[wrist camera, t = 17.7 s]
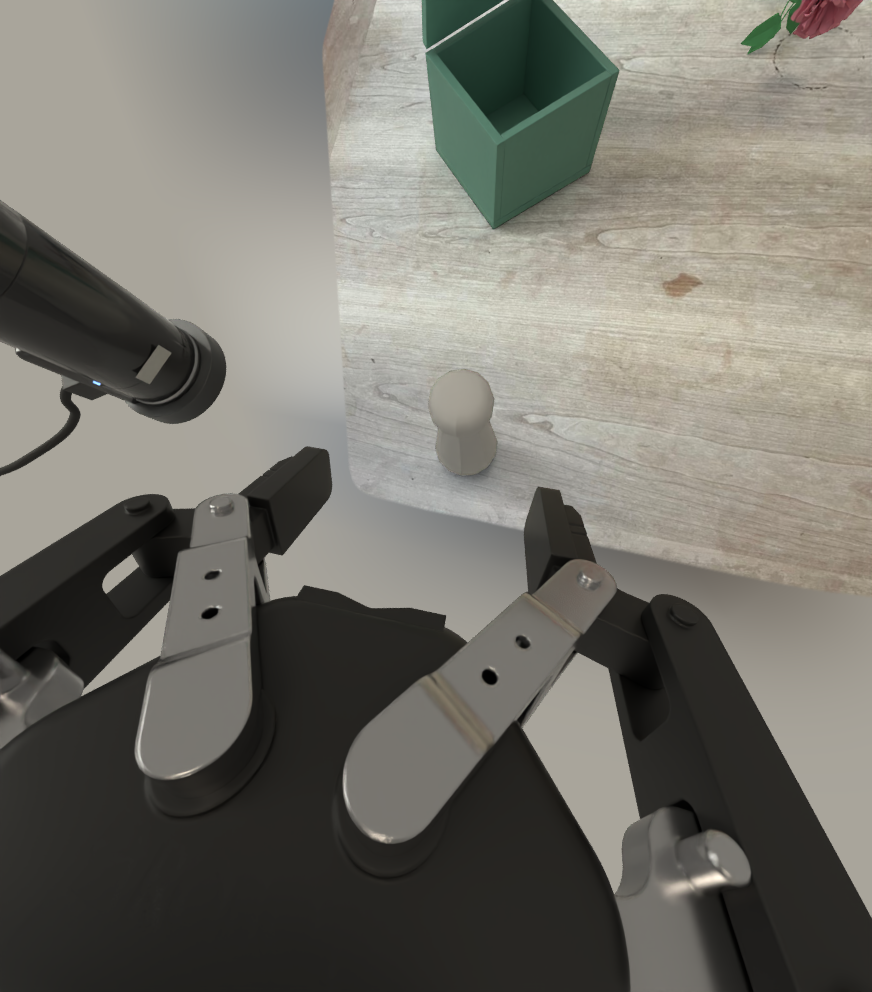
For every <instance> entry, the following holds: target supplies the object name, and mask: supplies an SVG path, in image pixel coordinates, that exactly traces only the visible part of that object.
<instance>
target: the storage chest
mask: <svg viewBox="0 0 872 992" xmlns="http://www.w3.org/2000/svg"><path fill="white" fill-rule="evenodd" d="M426 62H427V71H428V81H429V90H430V99H431V108H432V117H433V126H434V135H435V144H436V150H437V152H438V153H439V154H440V156H441V157H442V159H443V160H444V161H445V163H446V164H447V166H448V167H449V168H450V170H451V171H452V172H453V174H454V175H455V177H456V178H457V179H458V181H459V182H460V184H461V185H462V186H463V188H464V189H465V191H466V192H467V193H468V195H469V196H470V197H471V199H472V200H473V202H474V203H475V204H476V206H477V207H478V209H479V210H480V211H481V213H482V214H483V216H484V217H485V218H486V220H487V221H488V222H489V224H490V225H491V227H492V228H493V229H495V228H496V227H498V226H500V225H501V224H503V223H505V222H506V221H508V220H510V219H511V218H513V217H515V216H516V215H518V214H520V213H521V212H523V211H525V210H526V209H528V208H530V207H531V206H533V205H535V204H536V203H538V202H540V201H541V200H543V199H545V198H546V197H548V196H550V195H551V194H553V193H555V192H556V191H558V190H560V189H561V188H563V187H565V186H566V185H568V184H570V183H571V182H573V181H575V180H576V179H578V178H580V177H581V176H583V175H585V174H586V173H588V172H589V171H590V168H591V165H592V161H593V158H594V155H595V151H596V148H597V144H598V141H599V138H600V134H601V131H602V128H603V124H604V121H605V118H606V114H607V111H608V107H609V104H610V101H611V97H612V94H613V91H614V87H615V84H616V81H617V77H618V74H619V69H618V68H617V67H616V66H615V65H614V64H613V63H612V62H611V61H610V60H609V59H608V58H607V57H606V56H605V55H604V53H603V52H602V51H601V50H600V49H599V48H598V47H597V46H596V45H595V44H594V43H593V42H592V41H591V40H590V39H589V38H588V37H587V36H586V35H585V34H584V33H583V31H582V30H581V29H580V28H579V27H578V26H577V25H576V24H575V23H574V22H573V21H572V20H571V19H570V18H569V17H568V16H567V15H566V14H565V13H564V12H563V10H562V9H561V8H560V7H559V6H558V5H557V4H556V3H555V2H554V1H553V0H509V1H507V2H506V3H504V4H503V5H501V6H499V7H498V8H496V9H495V10H493V11H492V12H490V13H488V14H487V15H485V16H484V17H482V18H481V19H479V20H477V21H476V22H474V23H473V24H471V25H470V26H468V27H466V28H465V29H463V30H462V31H460V32H458V33H457V34H455V35H454V36H452V37H451V38H449V39H447V40H446V41H444V42H443V43H441V44H440V45H438V46H436V47H435V48H433V49H431V50H430V51H428V52H426Z"/></svg>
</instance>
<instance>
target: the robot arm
mask: <svg viewBox="0 0 872 992" xmlns="http://www.w3.org/2000/svg"><path fill="white" fill-rule="evenodd" d="M0 342H2V343H5V344H7V345H10V346H12V347H14V348H15V352H16V354H17V355H18V356H19V357H20V358H21V359H23V360H25V361H28V362H30V363H33V364H35V365H38V366H40V367H42V368H45V369H47V370H50V371H52V372H55V373H57V374H60V375H61V377H62V385H63V386H62V388H61V392H60V399H61V402H62V404H63V405H64V406H65V407H66V408H67V409H68V410H69V411H70V416H69V419H68V421H67V423H66V424H65V426H64V427H63V428H62V429H61V430H60V431H59V432H58V433H57V434H56V435H55V436H54V437H52V438H51V439H50V440H48V441H47V442H45V443H44V444H42V445H41V446H39V447H38V448H36V449H34V450H33V451H31V452H30V453H28V454H26V455H25V456H23V457H22V458H20V459H18V460H17V461H15V462H13V463H11V464H9V465H7V466H4V467H2V468H0V476H1V475H4V474H7V473H10V472H12V471H14V470H17V469H19V468H21V467H23V466H25V465H27V464H28V463H30V462H32V461H33V460H35V459H36V458H38V457H39V456H41V455H43V454H44V453H46V452H47V451H49V450H51V449H52V448H54V447H55V446H56V445H58V444H59V443H60V442H62V441H63V440H64V439H65V438H67V436H69V435H70V433H71V432H72V431H73V430H74V429H75V427H76V425H77V423H78V422H79V419H80V411H79V409H78V407H77V406H76V405H75V404H74V403H73V402H72V401H71V395H72V393H73V394H76V395H79V396H82V397H85V398H87V399H90V400H94V399H96V398H99V397H101V396H103V395H106V394H110V395H112V396H115V397H117V398H120V399H122V400H125V401H127V402H130V403H132V404H137V403H140V402H142V403H144V404H147V405H152V406H161V405H166V404H169V403H172V402H174V401H176V400H177V399H179V398H180V397H182V396H183V395H184V394H185V393H186V392H187V391H188V390H189V389H190V388H191V386H192V385H193V383H194V382H195V380H196V378H197V376H198V373H199V370H200V365H201V353H200V349H199V346H198V344H197V342H196V341H195V339H194V338H193V337H192V336H191V335H190V334H188V333H187V332H186V331H184V330H183V329H181V328H179V327H177V326H176V325H174V324H173V323H172V322H170V321H169V320H167V319H166V318H165V317H163V316H162V315H160V314H159V313H157V312H156V311H155V310H154V309H152V308H151V307H149V306H148V305H147V304H145V303H144V302H142V301H141V300H140V299H138V298H137V297H135V296H134V295H133V294H131V293H130V292H128V291H127V290H126V289H124V288H123V287H122V286H120V285H119V284H117V283H116V282H114V281H113V280H111V279H110V278H109V277H107V276H106V275H105V274H103V273H102V272H100V271H99V270H98V269H96V268H95V267H93V266H92V265H91V264H89V263H88V262H87V261H85V260H84V259H82V258H81V257H79V256H78V255H76V254H75V253H74V252H73V251H71V250H70V249H68V248H67V247H66V246H64V245H63V244H61V243H60V242H59V241H57V240H56V239H54V238H53V237H51V236H50V235H49V234H47V233H46V232H44V231H43V230H42V229H40V228H39V227H38V226H36V225H35V224H33V223H32V222H31V221H29V220H28V219H26V218H25V217H24V216H22V215H21V214H19V213H18V212H17V211H15V210H14V209H12V208H11V207H9V206H8V205H7V204H5V203H4V202H2V201H1V200H0ZM331 491H332V478H331V469H330V459H329V454H328V451H327V450H325V449H319V448H314V447H305V448H303V449H302V450H301V451H300V452H298V453H297V454H296V455H295V456H294V457H289V458H287V459H284V460H282V461H279V462H278V463H277V464H275V465H274V466H273V467H271V468H270V470H268V471H266V472H265V473H264V474H263V476H260V477H259V478H258V479H256V480H255V481H254V482H253V483H251V484H250V485H249V486H248V487H247V488H245V489H244V490H243V491H241V492H240V493H239V494H231V493H230V494H221V495H216V496H213V497H211V498H208V499H206V500H204V501H203V502H201V503H200V504H199V505H198V506H197V507H196V508H194V509H172V506H171V504H170V502H169V500H168V498H166V497H165V496H163V495H158V494H148V495H140V496H136V497H132V498H130V499H127V500H124V501H122V502H120V503H118V504H116V505H115V506H113V507H112V508H110V509H108V510H107V511H105V512H103V513H102V514H100V515H98V516H97V517H95V518H94V519H92V520H90V521H89V522H87V523H86V524H84V525H82V526H81V527H79V528H77V529H76V530H74V531H73V532H71V533H69V534H68V535H66V536H64V537H63V538H61V539H60V540H58V541H56V542H55V543H53V544H51V545H50V546H48V547H47V548H45V549H43V550H42V551H40V552H39V553H37V554H35V555H34V556H33V557H30V558H29V559H27V560H26V561H24V562H22V563H21V564H19V565H17V566H16V567H14V568H13V569H11V570H10V571H8V572H6V573H5V574H3V575H1V576H0V992H872V918H871V916H870V915H869V912H868V911H867V909H866V907H865V905H864V903H863V901H862V900H861V898H860V896H859V894H858V892H857V890H856V888H855V887H854V885H853V883H852V881H851V879H850V877H849V876H848V874H847V872H846V870H845V868H844V866H843V864H842V863H841V861H840V859H839V857H838V855H837V853H836V852H835V850H834V848H833V846H832V844H831V842H830V841H829V839H828V837H827V835H826V833H825V831H824V829H823V828H822V826H821V824H820V822H819V820H818V818H817V817H816V815H815V813H814V811H813V809H812V808H811V806H810V804H809V802H808V800H807V798H806V796H805V795H804V793H803V791H802V789H801V787H800V785H799V783H798V782H797V780H796V778H795V776H794V774H793V773H792V771H791V769H790V767H789V765H788V763H787V761H786V760H785V758H784V756H783V754H782V752H781V750H780V749H779V747H778V745H777V743H776V741H775V740H774V737H773V736H772V734H771V732H770V730H769V728H768V727H767V725H766V723H765V721H764V719H763V717H762V715H761V714H760V712H759V710H758V708H757V706H756V704H755V703H754V701H753V699H752V697H751V695H750V693H749V692H748V690H747V688H746V686H745V684H744V682H743V680H742V679H741V677H740V675H739V673H738V671H737V670H736V668H735V666H734V664H733V662H732V660H731V658H730V657H729V655H728V653H727V651H726V649H725V647H724V645H723V644H722V642H721V640H720V638H719V636H718V634H717V633H716V631H715V629H714V627H713V625H712V624H711V622H710V620H709V619H708V618H707V617H706V616H705V615H704V614H703V613H702V612H701V611H700V610H699V609H698V608H697V607H695V606H694V605H692V604H690V603H689V602H687V601H685V600H683V599H681V598H678V597H676V596H672V595H667V594H661V595H657V596H655V597H653V599H652V600H651V601H650V603H648V602H646V601H643V600H641V599H639V598H636V597H634V596H632V595H629V594H627V593H625V592H623V591H621V590H619V589H617V585H616V582H615V580H614V578H613V577H612V575H611V574H610V573H609V572H608V571H607V570H605V569H604V568H602V567H601V566H599V565H598V564H597V563H596V560H595V557H594V554H593V551H592V548H591V545H590V542H589V539H588V536H587V533H586V530H585V528H584V524H583V521H582V518H581V515H580V514H579V513H578V512H577V511H576V510H575V509H574V508H573V507H572V506H569V505H564V504H563V500H562V496H561V493H560V490H556V489H550V488H544V487H538V488H537V489H536V491H535V494H534V498H533V501H532V504H531V507H530V510H529V513H528V516H527V519H526V523H525V528H524V544H525V556H526V569H527V582H528V592H525V593H523V594H522V595H521V596H519V597H518V598H517V599H516V600H515V601H514V602H513V603H512V604H511V605H509V606H508V607H507V608H506V609H505V610H504V611H503V612H502V613H501V614H499V615H498V616H497V617H496V618H495V619H494V620H493V621H491V622H490V623H489V624H488V625H487V626H486V627H485V628H484V629H483V630H481V631H480V632H479V633H478V634H477V635H476V636H475V637H474V638H473V639H471V640H470V641H469V642H468V643H467V642H466V641H465V640H464V639H463V638H461V637H460V636H459V635H457V634H456V633H454V632H453V631H451V630H449V629H447V628H445V627H444V625H445V620H446V615H441V614H437V613H432V612H427V611H423V610H418V609H413V608H369V607H366V606H364V605H362V604H360V603H358V602H356V601H354V600H352V599H350V598H348V597H346V596H344V595H342V594H340V593H338V592H333V591H328V590H324V589H319V588H314V587H310V586H305V585H304V586H303V588H302V590H301V591H300V592H299V594H298V596H292V597H284V598H280V599H275V600H272V601H270V594H269V585H268V577H267V568H266V562H265V559H264V557H265V556H266V555H267V554H268V553H274V554H278V555H283V554H284V553H285V552H286V551H287V549H288V548H289V547H290V546H291V545H292V543H293V542H294V541H295V540H296V538H297V537H298V536H299V535H300V533H301V532H302V531H303V530H304V529H305V527H306V526H307V525H308V524H309V522H310V521H311V520H312V519H313V517H314V516H315V515H316V514H317V512H318V511H319V510H320V509H321V508H322V506H323V505H324V504H325V503H326V501H327V500H328V499H329V497H330V495H331ZM131 554H132V555H133V557H134V558H135V560H136V562H137V563H138V565H139V567H138V568H137V569H136V570H135V571H133V572H132V573H131V574H130V575H129V576H127V577H126V578H125V579H124V580H123V581H121V582H120V583H119V584H118V585H117V586H115V587H114V588H113V589H112V590H111V591H110V592H108V593H107V594H106V593H105V592H104V591H103V588H102V583H103V580H104V578H105V576H106V575H107V573H108V572H109V571H111V570H112V569H113V568H114V567H116V566H117V565H118V564H119V563H121V562H122V561H123V560H124V559H126V558H127V557H128V556H130V555H131ZM169 601H170V604H169V609H168V615H167V621H166V627H165V633H164V639H163V645H162V651H161V656H159V657H157V658H155V659H153V660H151V661H149V662H147V663H145V664H143V665H141V666H139V667H138V668H136V669H134V670H132V671H130V672H128V673H126V674H124V675H122V676H120V677H118V678H116V679H114V680H113V681H110V682H109V683H107V684H105V685H103V686H101V687H99V688H97V689H95V690H93V691H91V692H89V693H87V694H85V695H84V696H81V695H82V692H83V689H84V688H85V687H86V686H87V685H88V684H89V683H90V682H91V681H92V680H93V679H94V678H95V677H96V676H97V675H98V674H99V673H100V672H101V671H102V670H103V669H104V668H105V667H106V666H107V665H108V663H110V661H111V660H112V659H113V658H114V657H115V656H116V655H117V654H118V653H119V652H120V651H121V650H122V649H123V648H124V647H125V646H126V645H127V644H128V643H129V642H130V641H131V640H132V639H133V637H135V636H136V635H137V634H138V633H139V632H140V631H141V630H142V628H143V627H144V626H145V625H146V624H147V623H148V622H149V621H150V620H151V619H152V618H153V617H154V616H155V615H156V614H157V613H158V612H159V611H160V610H161V609H162V608H163V607H164V605H166V604H167V603H168V602H169ZM577 653H580V654H582V655H584V656H586V657H588V658H590V659H591V660H594V661H595V662H597V663H599V664H601V665H603V666H605V667H607V668H608V669H609V673H610V678H611V683H612V687H613V692H614V697H615V702H616V707H617V711H618V716H619V721H620V726H621V730H622V735H623V739H624V744H625V749H626V754H627V759H628V764H629V768H630V773H631V778H632V782H633V787H634V792H635V797H636V802H637V806H638V811H639V816H640V820H638V821H637V822H635V823H633V824H631V825H630V826H629V827H628V828H627V830H626V832H625V834H624V837H623V842H622V861H623V871H622V879H621V883H620V886H619V888H618V890H617V892H616V893H615V894H614V893H613V891H612V888H611V885H610V883H609V880H608V878H607V875H606V873H605V871H604V869H603V867H602V865H601V863H600V861H599V859H598V857H597V855H596V853H595V851H594V850H593V848H592V846H591V845H590V843H589V841H588V839H587V838H586V836H585V834H584V833H583V831H582V829H581V828H580V826H579V824H578V822H577V821H576V819H575V817H574V816H573V814H572V812H571V811H570V809H569V807H568V805H567V804H566V802H565V800H564V799H563V797H562V795H561V794H560V792H559V791H558V788H557V787H556V785H555V783H554V782H553V780H552V778H551V777H550V775H549V773H548V771H547V770H546V768H545V766H544V765H543V763H542V761H541V760H540V758H539V756H538V755H537V753H536V751H535V750H534V748H533V746H532V744H531V743H530V741H529V740H528V738H527V736H526V734H525V732H524V731H523V729H522V728H523V726H524V725H525V724H526V723H527V721H528V720H529V719H530V717H531V716H532V714H533V713H534V712H535V710H536V709H537V707H538V706H539V704H540V703H541V701H542V700H543V699H544V697H545V696H546V694H547V693H548V692H549V690H550V689H551V687H552V686H553V685H554V684H555V682H556V681H557V680H558V678H559V677H560V676H561V674H562V673H563V672H564V670H565V669H566V668H567V666H568V665H569V664H570V662H571V661H572V660H573V658H574V657H575V656H576V654H577Z"/></svg>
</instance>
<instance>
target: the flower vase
mask: <svg viewBox="0 0 872 992" xmlns="http://www.w3.org/2000/svg"><path fill="white" fill-rule="evenodd" d="M789 1H791V2H793V4H794V3H796V2H797V3H796V4H795V5H794V6H793V7H792V5H793V4H792V5H791V7H792V8H791V7H790V8H791V9H790V8H789V10H790V11H789V10H788V11H789V15H788V19H787V26H786V28H787V30H788V31H789V33H790V34H791V33H792V32H793V31H794V30H795V29H796V27H797V26H798V25H799V26H798V28H797V30H796V31H794V32H793V34H794V35H798V36H799V37H801V38H803V39H805V38H807V37H808V36H810V37H809V39H811V38H813V37H815V36H817V35H821V34H823V33H825V32H828V31H829V30H831V29H833V28H835V27H837V26H839V25H840V22H841V21H842V20H845V19H847V17H848V16H849V15H850V14H851V13H852V12H853V11H854V9H855V8H856V7H857V6H858V5H859V4H860V3H861V2H862V1H863V0H789ZM789 1H788V2H789ZM787 4H788V3H787ZM787 4H786V6H787ZM786 6H785V8H786ZM785 8H784V10H785ZM784 10H783V12H784ZM788 11H787V12H786V14H787V13H788ZM783 12H782V14H783ZM782 14H781V16H782ZM786 14H785V15H784V17H785V16H786ZM781 16H780V15H779V13H777V14H775V15H774V16H772V17H770V18H769V19H767V20H766V21H765V22H763V23H762V24H760V25H759V26H757V27H756V28H755V29H754V30H753V31H752V32H751V33H750V34H749V35H748V36H747V37H746V39H745V40H744V41H743V42H742V43H741V44H742V45H747V46H752V47H751V48H750V50H749V52H748V54H749V53H751V52H753V51H755V50H757V49H759V48H761V47H763V46H764V45H765V44H766V43H767V42H768V41H769V40H770V39H772V38H773V37H774V36H775V34H776V33H777V32H778V31H779V30H780V28H781V21H782V20H783V19H784V17H783V18H782V20H781Z"/></svg>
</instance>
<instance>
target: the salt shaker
mask: <svg viewBox="0 0 872 992" xmlns="http://www.w3.org/2000/svg"><path fill="white" fill-rule="evenodd" d="M493 404H494V397H493V394H492V391H491V388H490V386H489V383H488V382H487V381H486V380H485V379H484V378H483V377H482V376H481V375H480V374H479V373H477V372H474V371H470V370H466V369H461V370H453V371H449V372H448V373H446V374H445V375H443V376H441V377H440V378H438V380H437V381H436V383H435V384H434V385H433V387H432V388H431V390H430V396H429V403H428V408H429V412H430V415H431V418H432V421H433V423H434V424H435V425H436V426H437V427H438V434H437V441H436V448H435V449H436V452H437V455H438V459H439V461H440V462H441V463H442V464H443V465H444V466H445V467H446V468H447V469H448V470H449V471H450V472H453V473H456V474H459V475H461V476H465V475H475V474H477V473H479V472H481V471H482V470H484V469H486V468H487V467H488V466H489V464H490V463H491V461H492V460H493V458H494V457H495V455H496V449H497V442H498V441H497V439H496V436H495V433H494V431H493V428H492V426H491V424H490V421H489V420H490V418H491V416H492V411H493Z"/></svg>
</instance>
